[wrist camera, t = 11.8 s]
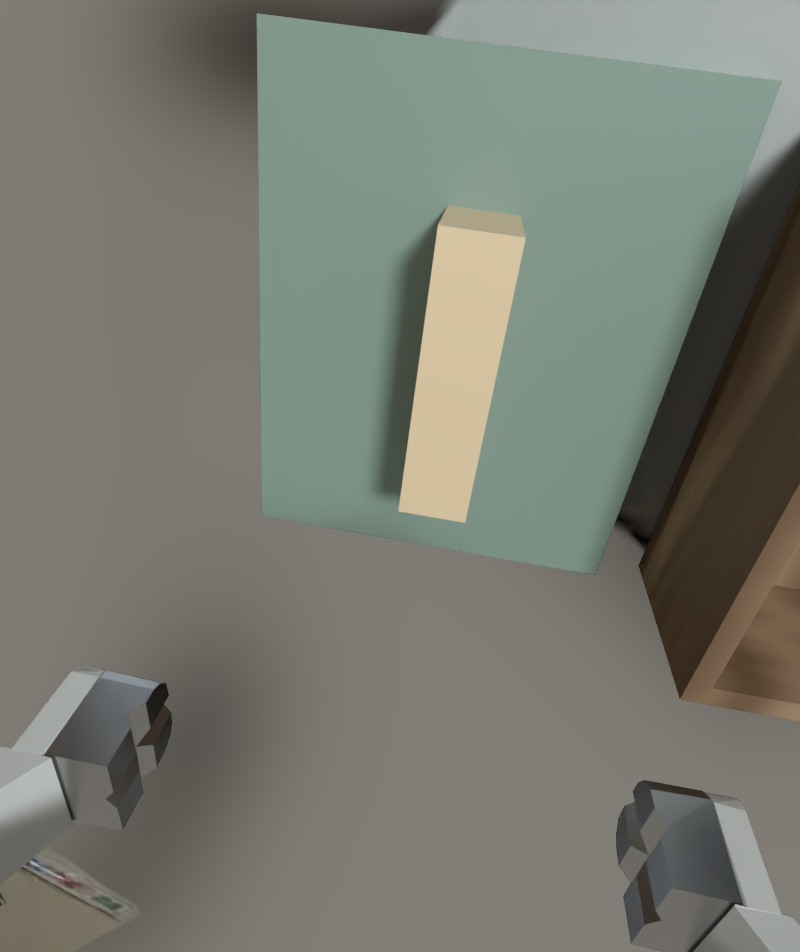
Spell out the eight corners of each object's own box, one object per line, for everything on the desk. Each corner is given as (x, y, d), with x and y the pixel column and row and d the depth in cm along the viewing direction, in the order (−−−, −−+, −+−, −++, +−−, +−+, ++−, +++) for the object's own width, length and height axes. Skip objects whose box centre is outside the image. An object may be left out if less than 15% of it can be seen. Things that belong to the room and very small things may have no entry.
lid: (765, 82, 23) (852, 74, 17) (591, 557, 35) (609, 642, 29) (269, 18, 24) (200, -9, 18) (269, 501, 36) (228, 572, 30)
